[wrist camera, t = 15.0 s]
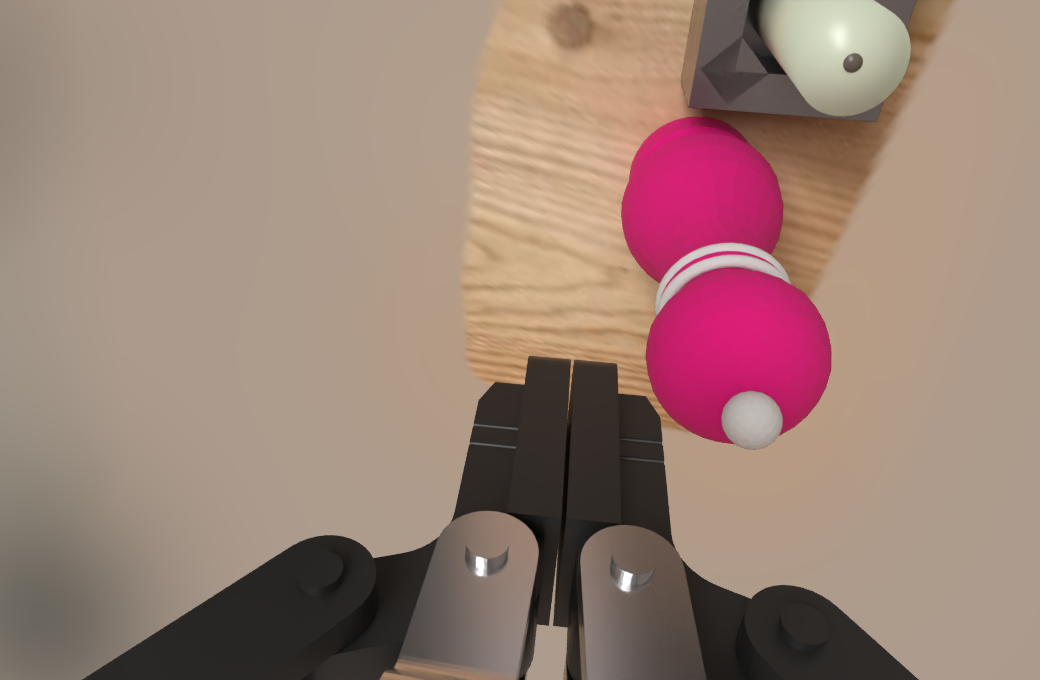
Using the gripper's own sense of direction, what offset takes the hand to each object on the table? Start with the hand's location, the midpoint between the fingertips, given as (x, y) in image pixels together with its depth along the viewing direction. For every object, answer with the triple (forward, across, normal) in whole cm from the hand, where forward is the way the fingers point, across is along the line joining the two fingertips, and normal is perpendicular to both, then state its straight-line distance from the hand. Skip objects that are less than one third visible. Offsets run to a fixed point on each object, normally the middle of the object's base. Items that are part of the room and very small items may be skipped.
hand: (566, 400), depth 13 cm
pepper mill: (+27, -6, +6) cm, 29 cm away
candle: (+26, -8, -2) cm, 27 cm away
